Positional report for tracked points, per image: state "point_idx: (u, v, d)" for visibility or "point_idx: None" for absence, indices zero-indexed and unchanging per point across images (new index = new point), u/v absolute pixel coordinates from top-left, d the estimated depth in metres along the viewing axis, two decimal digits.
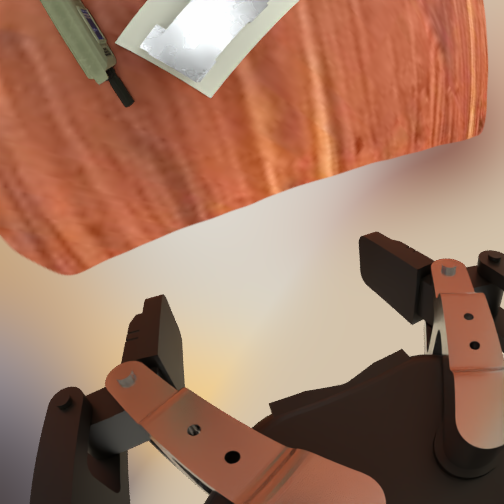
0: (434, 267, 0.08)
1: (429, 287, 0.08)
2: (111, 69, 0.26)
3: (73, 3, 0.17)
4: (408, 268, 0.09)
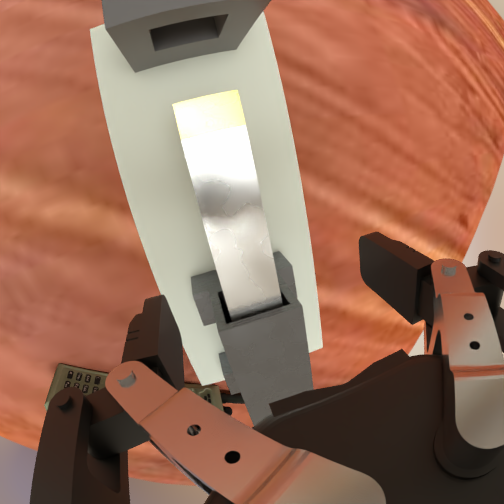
0: (434, 267, 0.08)
1: (429, 287, 0.08)
2: (222, 398, 0.32)
3: None
4: (408, 268, 0.09)
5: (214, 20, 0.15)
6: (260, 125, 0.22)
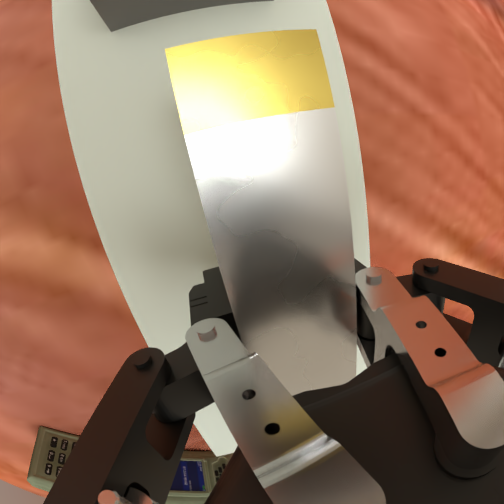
0: (357, 280, 0.08)
1: None
2: None
3: None
4: None
5: None
6: None
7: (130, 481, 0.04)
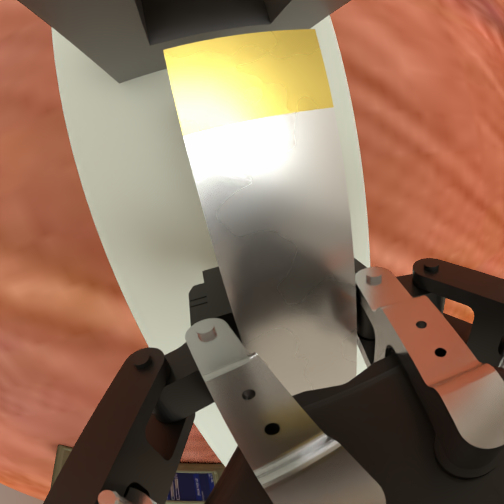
0: (358, 280, 0.08)
1: None
2: None
3: None
4: None
5: None
6: None
7: (130, 481, 0.04)
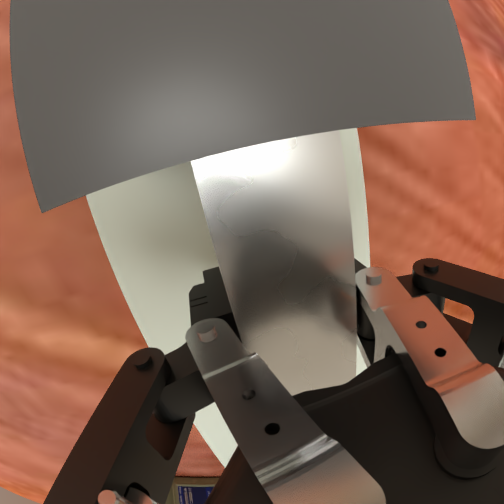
0: (357, 280, 0.08)
1: None
2: None
3: None
4: None
5: None
6: None
7: (130, 481, 0.04)
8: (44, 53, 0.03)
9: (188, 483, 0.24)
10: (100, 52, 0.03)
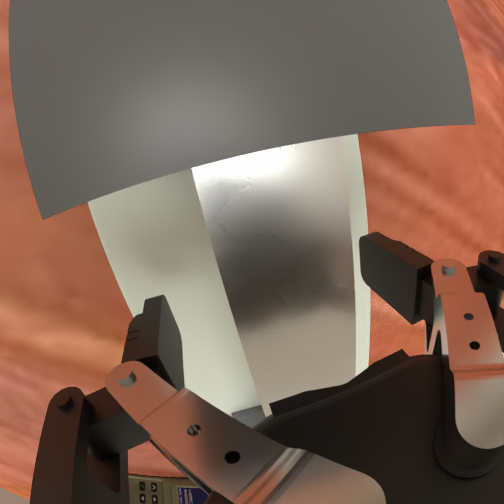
0: (434, 267, 0.08)
1: (429, 287, 0.08)
2: None
3: None
4: (407, 268, 0.09)
5: None
6: None
7: None
8: (43, 59, 0.03)
9: (188, 484, 0.24)
10: (99, 59, 0.03)
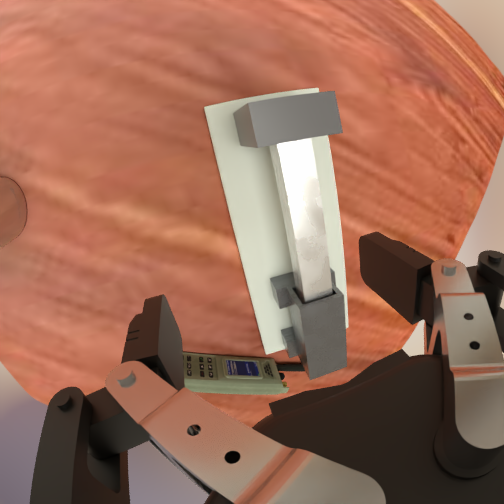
0: (434, 267, 0.08)
1: (429, 287, 0.08)
2: (277, 367, 0.47)
3: (222, 377, 0.40)
4: (408, 268, 0.09)
5: None
6: None
7: None
8: (259, 120, 0.23)
9: (233, 358, 0.45)
10: (269, 123, 0.23)
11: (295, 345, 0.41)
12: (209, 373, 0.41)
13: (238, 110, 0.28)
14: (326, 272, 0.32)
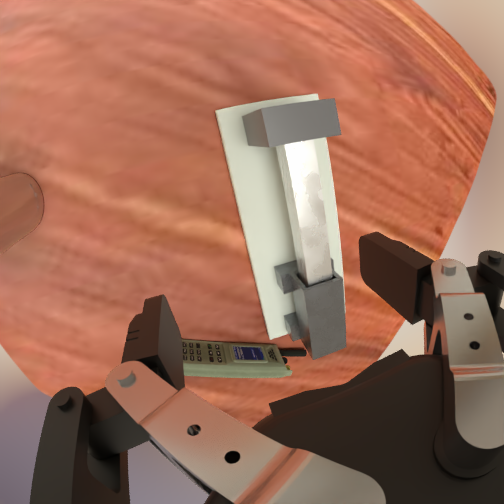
0: (434, 267, 0.08)
1: (429, 287, 0.08)
2: (280, 352, 0.50)
3: (230, 361, 0.44)
4: (408, 268, 0.09)
5: None
6: None
7: None
8: (270, 124, 0.27)
9: (239, 345, 0.48)
10: (279, 126, 0.27)
11: (298, 329, 0.45)
12: (218, 358, 0.44)
13: (249, 114, 0.31)
14: (327, 258, 0.36)
